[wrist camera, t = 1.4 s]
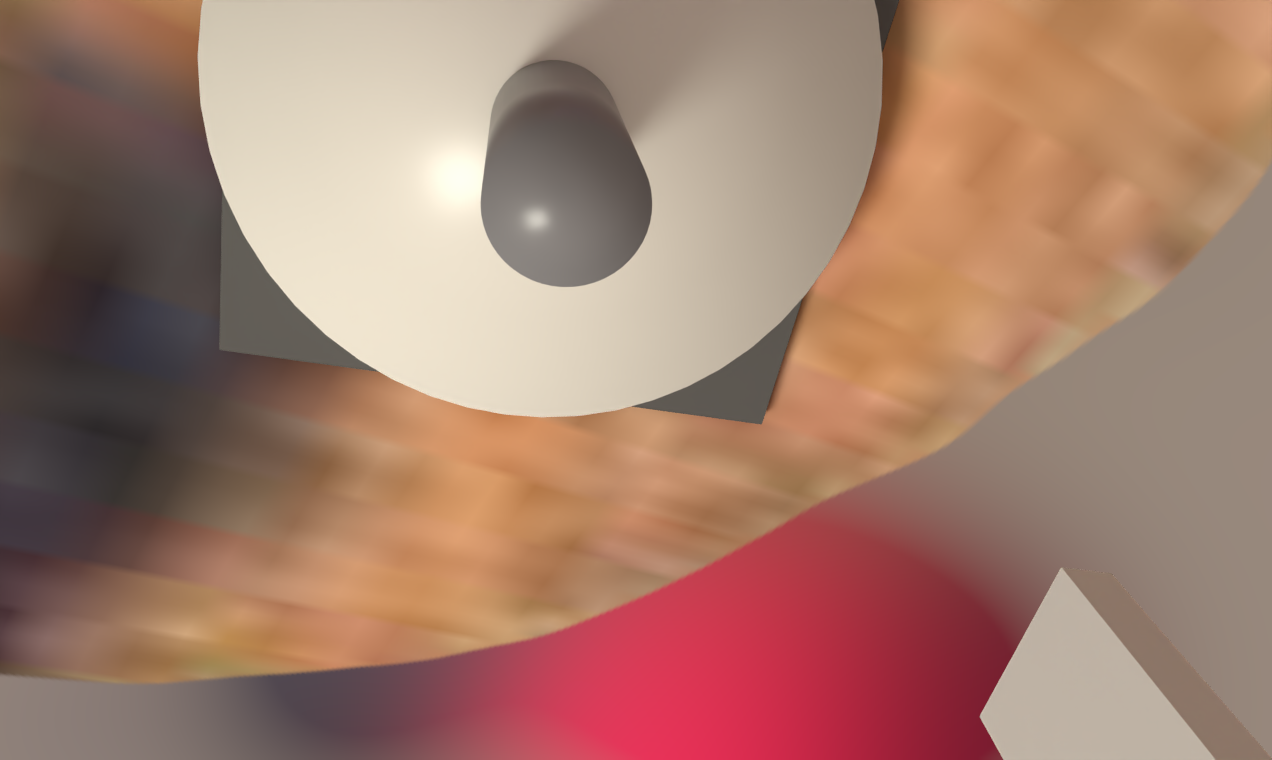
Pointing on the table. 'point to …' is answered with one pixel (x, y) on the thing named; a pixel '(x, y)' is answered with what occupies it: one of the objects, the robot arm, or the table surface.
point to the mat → (279, 329)
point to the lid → (542, 180)
